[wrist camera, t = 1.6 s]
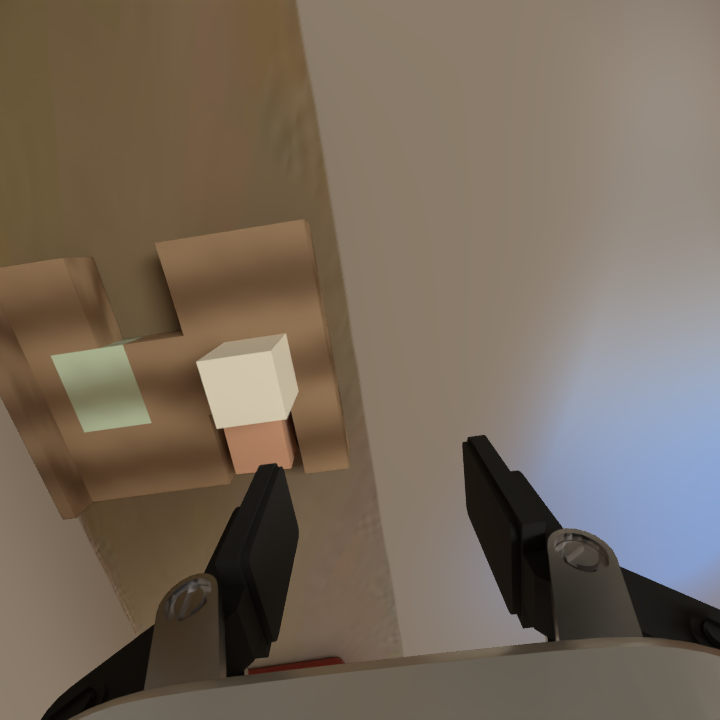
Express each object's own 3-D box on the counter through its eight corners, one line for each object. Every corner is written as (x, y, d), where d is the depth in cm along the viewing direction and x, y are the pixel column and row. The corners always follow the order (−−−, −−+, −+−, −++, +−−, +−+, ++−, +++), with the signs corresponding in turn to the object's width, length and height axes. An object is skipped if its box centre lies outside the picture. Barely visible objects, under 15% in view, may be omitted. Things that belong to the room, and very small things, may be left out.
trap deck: (9, 270, 28) (-62, 274, 24) (308, 222, 27) (298, 216, 23) (103, 482, 35) (62, 519, 30) (349, 449, 34) (348, 482, 29)
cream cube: (224, 342, 27) (196, 361, 22) (286, 333, 27) (270, 350, 22) (240, 399, 29) (216, 428, 24) (298, 391, 29) (286, 419, 24)
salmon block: (236, 406, 32) (222, 424, 29) (288, 400, 32) (280, 417, 29) (247, 452, 34) (236, 474, 31) (297, 446, 34) (291, 468, 30)
